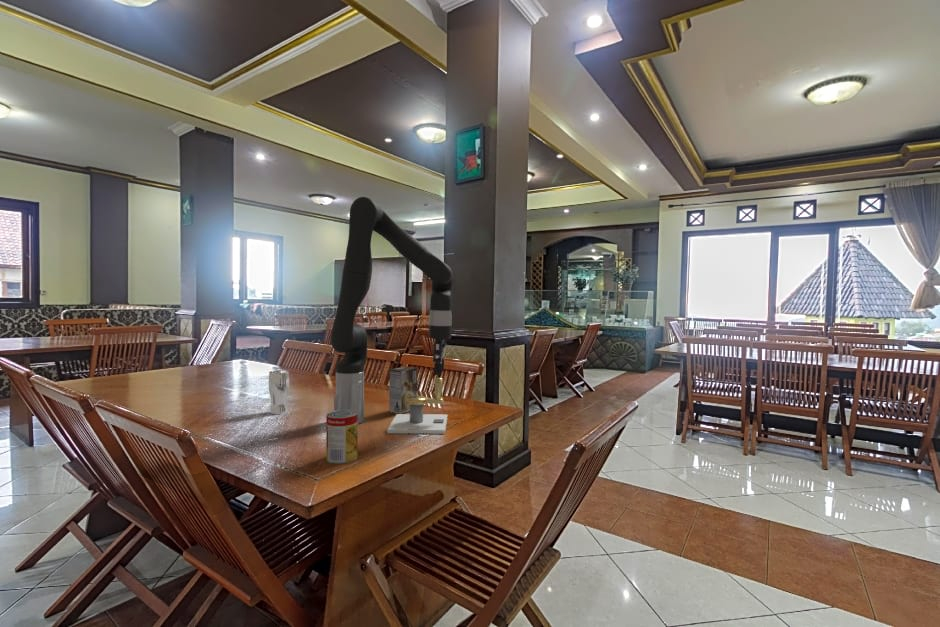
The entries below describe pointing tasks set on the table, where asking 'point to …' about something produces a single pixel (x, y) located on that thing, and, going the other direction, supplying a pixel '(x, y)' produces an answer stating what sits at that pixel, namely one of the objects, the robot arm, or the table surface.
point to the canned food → (341, 435)
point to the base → (423, 426)
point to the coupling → (423, 400)
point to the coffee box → (401, 388)
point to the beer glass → (278, 391)
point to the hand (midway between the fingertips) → (439, 372)
